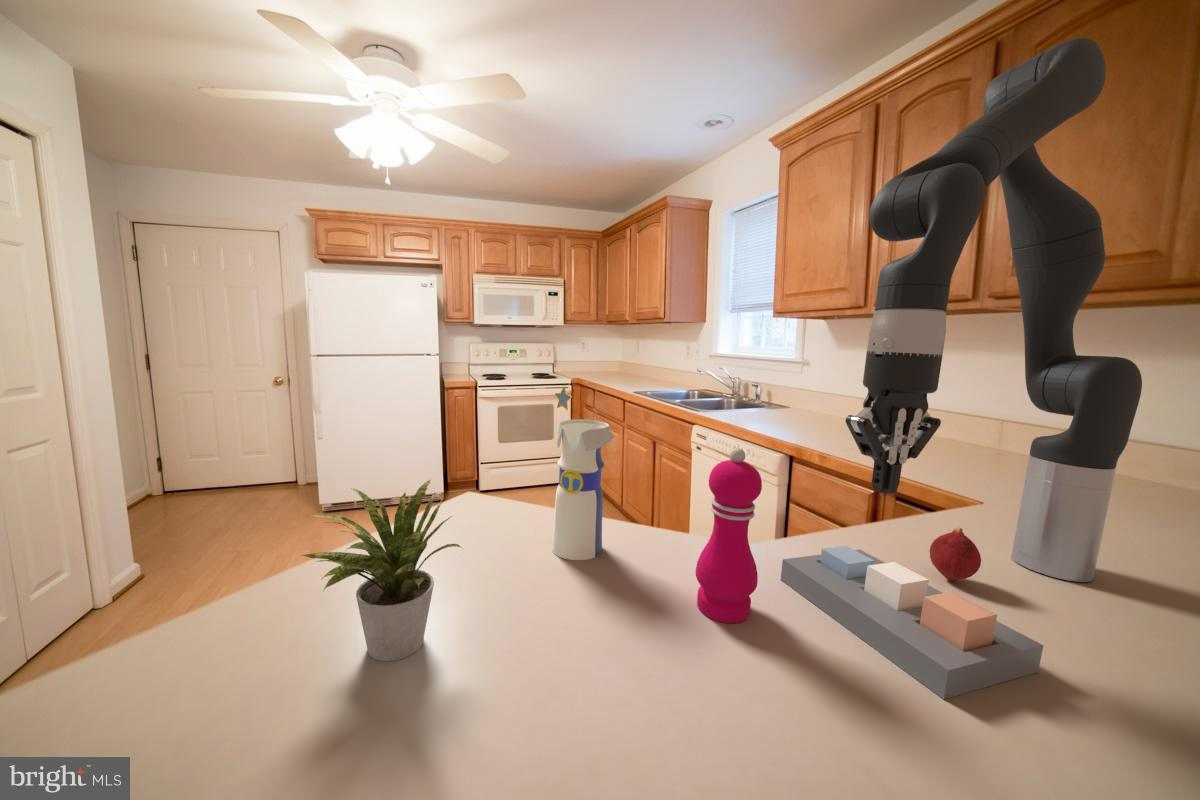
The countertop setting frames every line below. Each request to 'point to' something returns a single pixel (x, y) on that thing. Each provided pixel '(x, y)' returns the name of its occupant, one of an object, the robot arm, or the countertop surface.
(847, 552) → the blue key
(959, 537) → the onion
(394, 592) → the house plant
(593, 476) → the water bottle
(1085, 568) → the robot arm
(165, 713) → the countertop surface
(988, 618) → the terracotta key
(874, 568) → the white key
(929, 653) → the board
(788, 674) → the countertop surface
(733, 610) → the pepper mill
